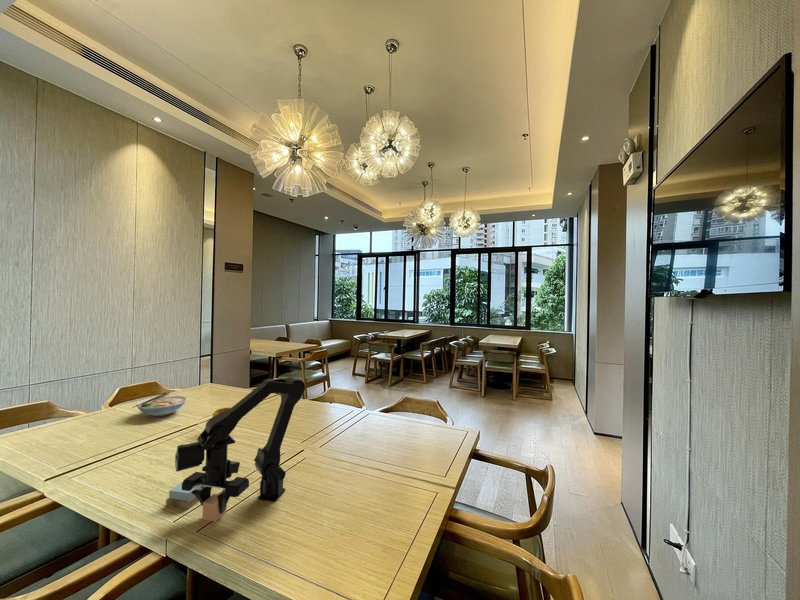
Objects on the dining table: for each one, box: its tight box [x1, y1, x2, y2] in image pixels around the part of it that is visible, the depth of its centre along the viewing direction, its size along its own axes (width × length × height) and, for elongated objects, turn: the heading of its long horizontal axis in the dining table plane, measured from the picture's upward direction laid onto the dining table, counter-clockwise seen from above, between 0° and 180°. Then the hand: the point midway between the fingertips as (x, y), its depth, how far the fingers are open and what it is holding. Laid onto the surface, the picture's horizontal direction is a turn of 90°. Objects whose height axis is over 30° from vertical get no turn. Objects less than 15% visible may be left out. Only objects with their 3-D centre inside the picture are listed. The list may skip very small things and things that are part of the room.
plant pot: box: [212, 406, 233, 417], centre depth 160 cm, size 10×10×10 cm
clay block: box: [202, 493, 228, 522], centre depth 97 cm, size 4×4×5 cm
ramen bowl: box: [131, 392, 188, 417], centre depth 179 cm, size 25×23×8 cm
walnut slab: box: [165, 496, 199, 510], centre depth 104 cm, size 8×8×2 cm
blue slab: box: [168, 482, 195, 501], centre depth 104 cm, size 7×7×2 cm
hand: (214, 512), depth 97 cm, fingers closed on clay block, 4 cm apart
